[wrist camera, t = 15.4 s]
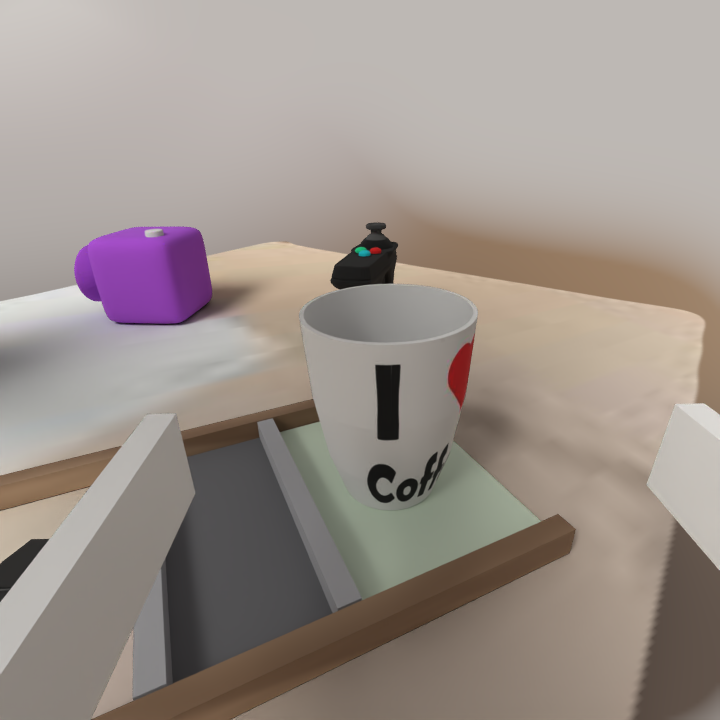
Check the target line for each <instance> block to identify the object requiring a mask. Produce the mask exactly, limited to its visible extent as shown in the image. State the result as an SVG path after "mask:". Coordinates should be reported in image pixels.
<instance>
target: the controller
mask: <svg viewBox="0 0 720 720" xmlns="http://www.w3.org/2000/svg"><path fill="white" fill-rule="evenodd" d="M366 228H367V229H369V230H371V234H369V235H368V236H367V237H366V238H365V239H364V240H363V241H362V242H361V244H359V245H358V246H356V247H354V248H353V249H352V250H351V253H350V254H348V255H347V256H346V257H345V258H343V259H342V260H341V261H339V262H338V263H337V264H335V266H334V270H333V274H332V278H331V283H332V284H333V286H335V287H336V288H338V289H345V288H350V287H356V286H363V285H374V284H393V280H394V269H395V264H396V259H397V255H396V248H397V247H398V244H397V243H396V242H391V241H390V240H389V239H388V238H387V237H385V236H384V235H383V234H382V233H381V230H382V229H385V228H386V225H385V223H368V224H367V225H366Z"/></svg>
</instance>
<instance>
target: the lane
mask: <svg viewBox="0 0 720 720" xmlns="http://www.w3.org/2000/svg"><path fill="white" fill-rule="evenodd" d="M271 418H273V420H274V422H275V424H276V426H277V428H278V430H279V432H282V431H286V430H290V429H294V428H297V427H301V426H305V425H309V424H312V423H316V422H320V420H319V417H318V413H317V410H316V406H315V403H314V400H313V399H311V400H307V401H303V402H299V403H295V404H291V405H287V406H283V407H278V408H274V409H270V410H266V411H262V412H258V413H254V414H250V415H246V416H242V417H238V418H234V419H229V420H225V421H221V422H217V423H213V424H209V425H205V426H201V427H197V428H193V429H189V430H185V431H181V435H182V440H183V444H184V448H185V452H186V456H187V457H188V456H192V455H196V454H200V453H203V452H207V451H211V450H215V449H219V448H222V447H226V446H230V445H234V444H237V443H241V442H245V441H249V440H252V439H256V438H260V437H259V431H258V424H257V422H260V421H263V420H267V419H271ZM121 447H122V446H119V447H115V448H111V449H107V450H103V451H99V452H95V453H91V454H87V455H83V456H78V457H74V458H70V459H66V460H62V461H58V462H54V463H50V464H46V465H42V466H38V467H34V468H30V469H25V470H21V471H17V472H13V473H9V474H5V475H1V476H0V510H3V509H7V508H11V507H14V506H18V505H22V504H26V503H29V502H33V501H37V500H40V499H44V498H48V497H52V496H55V495H59V494H63V493H66V492H70V491H74V490H78V489H81V488H85V487H89V486H91V485H92V484H93V483H94V481H95V480H96V479H97V477H98V476H99V475H100V474H101V472H102V471H103V470H104V468H105V467H106V466H107V465H108V463H109V462H110V461H111V459H112V458H113V457H114V456H115V454H116V453H117V452H118V450H119V449H120V448H121ZM575 530H576V529H575V528H574V527H573V526H571V525H570V524H569V523H568V522H567V521H566V520H564V519H563V518H562V517H561V516H560V515H559V514H557V515H555V516H553V517H550V518H548V519H546V520H543V521H541V522H539V523H537V524H534V525H532V526H530V527H528V528H525V529H523V530H521V531H518V532H516V533H514V534H512V535H509V536H507V537H505V538H503V539H500V540H498V541H496V542H493V543H491V544H489V545H487V546H484V547H482V548H480V549H478V550H475V551H473V552H471V553H468V554H466V555H464V556H462V557H459V558H457V559H455V560H453V561H450V562H448V563H446V564H444V565H441V566H439V567H437V568H434V569H432V570H430V571H428V572H425V573H423V574H421V575H419V576H416V577H414V578H412V579H409V580H407V581H405V582H403V583H400V584H398V585H396V586H394V587H391V588H389V589H387V590H384V591H382V592H380V593H378V594H375V595H373V596H371V597H369V598H366V599H364V600H362V601H359V602H357V603H355V604H353V605H350V606H348V607H346V608H344V609H341V610H339V611H337V612H334V613H332V614H330V615H328V616H325V617H323V618H321V619H319V620H316V621H314V622H312V623H310V624H307V625H305V626H303V627H300V628H298V629H296V630H294V631H291V632H289V633H287V634H285V635H282V636H280V637H278V638H275V639H273V640H271V641H269V642H266V643H264V644H262V645H260V646H257V647H255V648H253V649H250V650H248V651H246V652H244V653H241V654H239V655H237V656H235V657H232V658H230V659H228V660H225V661H223V662H221V663H219V664H216V665H214V666H212V667H210V668H207V669H205V670H203V671H200V672H198V673H196V674H194V675H191V676H189V677H187V678H185V679H182V680H180V681H178V682H176V683H173V684H171V685H169V686H166V687H164V688H162V689H160V690H157V691H155V692H153V693H151V694H148V695H146V696H144V697H141V698H139V699H137V700H135V701H132V702H130V703H128V704H126V705H123V706H121V707H119V708H116V709H114V710H112V711H110V712H107V713H105V714H103V715H101V716H98V717H96V718H94V719H91V720H230V719H232V718H234V717H236V716H238V715H240V714H242V713H244V712H246V711H248V710H250V709H252V708H254V707H256V706H258V705H260V704H262V703H264V702H266V701H268V700H270V699H273V698H275V697H277V696H279V695H281V694H283V693H285V692H287V691H289V690H291V689H293V688H295V687H297V686H299V685H301V684H303V683H305V682H307V681H309V680H311V679H313V678H315V677H317V676H319V675H322V674H324V673H326V672H328V671H330V670H332V669H334V668H336V667H338V666H340V665H342V664H344V663H346V662H348V661H350V660H352V659H354V658H356V657H358V656H360V655H362V654H364V653H366V652H368V651H371V650H373V649H375V648H377V647H379V646H381V645H383V644H385V643H387V642H389V641H391V640H393V639H395V638H397V637H399V636H401V635H403V634H405V633H407V632H409V631H411V630H413V629H415V628H417V627H419V626H422V625H424V624H426V623H428V622H430V621H432V620H434V619H436V618H438V617H440V616H442V615H444V614H446V613H448V612H450V611H452V610H454V609H456V608H458V607H460V606H462V605H464V604H466V603H468V602H471V601H473V600H475V599H477V598H479V597H481V596H483V595H485V594H487V593H489V592H491V591H493V590H495V589H497V588H499V587H501V586H503V585H505V584H507V583H509V582H511V581H513V580H515V579H517V578H520V577H522V576H524V575H526V574H528V573H530V572H532V571H534V570H536V569H538V568H540V567H542V566H544V565H546V564H548V563H550V562H552V561H554V560H556V559H558V558H560V557H562V556H564V555H566V554H568V553H570V549H571V545H572V542H573V538H574V534H575Z"/></svg>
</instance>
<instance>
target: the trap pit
mask: <svg viewBox="0 0 720 720" xmlns="http://www.w3.org/2000/svg"><path fill="white" fill-rule="evenodd" d="M257 424H258V431H259V437H260V438H256V439H252V440H249V441H245V442H241V443H237V444H234V445H230V446H226V447H222V448H219V449H215V450H211V451H207V452H203V453H200V454H196V455H192V456H188V457H187V460H188V464H189V468H190V473H191V477H192V481H193V485H194V489H195V495H194V497H193V499H192V502H191V504H190V506H189V508H188V510H187V512H186V515H185V517H184V519H183V521H182V523H181V525H180V528H179V530H178V532H177V534H176V536H175V538H174V541H173V543H172V545H171V547H170V549H169V551H168V553H167V556H166V558H165V560H164V562H163V564H162V566H161V569H160V571H159V573H158V575H157V577H156V579H155V582H154V584H153V586H152V588H151V590H150V592H149V595H148V597H147V599H146V601H145V603H144V605H143V608H142V610H141V612H140V614H139V616H138V618H137V621H136V623H135V625H134V643H133V700H134V701H135V700H137V699H139V698H141V697H144V696H146V695H148V694H151V693H153V692H155V691H157V690H160V689H162V688H164V687H166V686H169V685H171V684H173V683H176V682H178V681H180V680H182V679H185V678H187V677H189V676H191V675H194V674H196V673H198V672H200V671H203V670H205V669H207V668H210V667H212V666H214V665H216V664H219V663H221V662H223V661H225V660H228V659H230V658H232V657H235V656H237V655H239V654H241V653H244V652H246V651H248V650H250V649H253V648H255V647H257V646H260V645H262V644H264V643H266V642H269V641H271V640H273V639H275V638H278V637H280V636H282V635H285V634H287V633H289V632H291V631H294V630H296V629H298V628H300V627H303V626H305V625H307V624H310V623H312V622H314V621H316V620H319V619H321V618H323V617H325V616H328V615H330V614H332V613H334V612H337V611H339V610H341V609H344V608H346V607H348V606H350V605H353V604H355V603H357V602H359V601H362V597H361V595H360V593H359V591H358V589H357V587H356V585H355V583H354V581H353V579H352V577H351V575H350V573H349V571H348V569H347V567H346V565H345V563H344V561H343V559H342V557H341V555H340V553H339V551H338V549H337V547H336V545H335V543H334V541H333V539H332V537H331V535H330V533H329V531H328V529H327V527H326V525H325V523H324V521H323V519H322V517H321V515H320V513H319V511H318V509H317V507H316V505H315V503H314V501H313V499H312V497H311V494H310V492H309V490H308V488H307V486H306V484H305V482H304V480H303V478H302V476H301V474H300V472H299V470H298V468H297V466H296V464H295V462H294V460H293V458H292V456H291V454H290V452H289V450H288V448H287V446H286V444H285V442H284V440H283V438H282V436H281V434H280V432H279V430H278V428H277V426H276V424H275V422H274V420H273V418H271V419H267V420H263V421H260V422H257Z"/></svg>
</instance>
